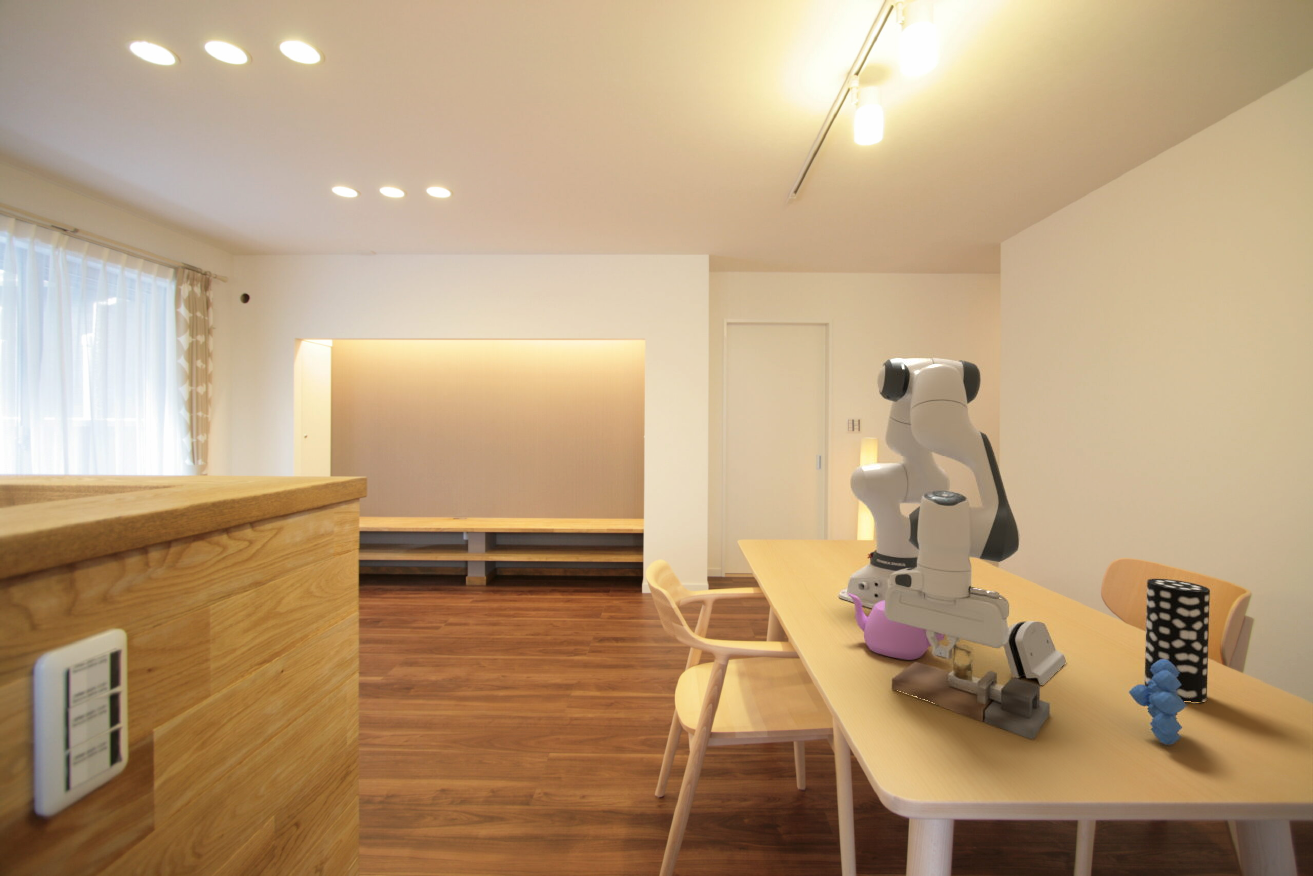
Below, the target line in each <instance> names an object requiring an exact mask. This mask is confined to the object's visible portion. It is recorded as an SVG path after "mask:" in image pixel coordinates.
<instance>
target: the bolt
mask: <svg viewBox="0 0 1313 876" xmlns="http://www.w3.org/2000/svg"><path fill="white" fill-rule="evenodd" d="M973 658H974V650H973V647H970V646H967V645H964V644H956V645H955V646H954V648H953V663H952V664H953V667H952V668H953V669H952V671H949V672H950V673H949V674H948V685H949V686H952V687H955V688H958V689H961V690H964V691H967V692H970V693H973V694H976V695H977V689H978V681H979V680H980V679H981V678H979V677H976V676H973V674H974V673H973V671H974V670H973V666H974V664H973V663H974V659H973ZM1004 686H1005V685H1003V684H998V683H997V684H996V683H993V682H992V683H991V684H990V685H989V686H988V699H991V700H995V701H998V702H1001V689H1002V688H1003V687H1004Z"/></svg>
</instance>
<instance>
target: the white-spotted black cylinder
mask: <svg viewBox="0 0 1313 876" xmlns="http://www.w3.org/2000/svg"><path fill="white" fill-rule="evenodd" d="M1210 591H1211V590H1210V587H1209V588H1208V587H1206V586H1204V585H1201V584H1197V583H1192V582H1188V581H1183V580H1176V579H1167V578H1149V579H1147V580H1146V616H1145V617H1146V618H1145V620H1146V622H1145V652H1144V653H1145V655H1144V659H1145V660H1144V665H1145V666H1144V685H1145V686H1147V687H1148V686H1149V685H1148V684H1147V683H1148V681H1149V680H1151V679H1152V677H1153V676H1154V675H1153V673H1152V672H1151V671H1150V669H1151V666H1152V665H1153V664H1154V663H1155V662H1157V661H1158V660H1160V659H1167V660H1168V661H1170V662H1171V663H1172V664H1173V665H1174V666H1175V667H1176V668H1177V670H1178V671H1179V672H1180V673H1179V674H1178V677H1176V678H1177V679H1178V681H1179V682H1180V683H1181V684H1182V685H1181V686H1180V687H1179V688H1177V689H1176V690H1177V692H1176V693H1177V695H1178V696H1179V697H1180V698H1181V699H1182V700H1183V701H1191V702H1203V701H1206V700H1207V699H1208V672H1209V671H1208V669H1209V637H1210V636H1209V633H1210V630H1209V629H1210V598H1211V597H1210V595H1211V592H1210ZM1207 701H1208V700H1207ZM1207 701H1206V702H1207Z"/></svg>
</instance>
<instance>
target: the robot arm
mask: <svg viewBox="0 0 1313 876" xmlns="http://www.w3.org/2000/svg"><path fill="white" fill-rule="evenodd" d="M981 379H982V378H981V371H980V369H979V367H978V366H977V365H976V364H975V363H973V362H970V361H966V360H954V359H949V358H948V359H947V358H940V357H930V358H929V357H925V358H924V357H922V358H921V357H917V358H916V357H913V358H912V357H911V358H903V357H894V358H888V359H887V360H886V361H885V362H883V364H882V366H881V367H880V370H879V372H878V374H877V382H876V383H877V387H878V391H879V394H880V396H881V397H882V398H883V399H885V400H888V401H891V402H892V403H891V405H890V411H889V416H888V422H887V426H886V432H885V437H884V438H885V443H886V445H887V447H888V448H889V450H891V451H892V452H894V453H896V454H897V455H900V456H901V457H902V460H901V462H893V463H890V462H888V463H887V462H886V463H885V462H876V463H875V462H874V463H868V464H863V465H859V466H857V467H856V468H854V470H853V472H852V473H851V477H850V488H851V491H852V494H853V495H854V496H855V498H857V500H859V501H861V503H863V504H864V505H865V507H866V508H867V509H868V510H869V512H870V513H871V515H872V517H873V520H874V524H875V533H876V539H875V540H876V549H874V551H871V552H870V553H869V554H867V558H866V559H869V563H868V564H866V565H865V566H863V567H860V568H859V569H858V570H857V571H854V572H853V573H852V574H851V575H850V577H849V578H848V582H847V587H846V588H844V589H842V590H840V591H839V594H838V598H839V599H842V600H845V601H848V602H852V603H854V601H853V600H852V598H851V597H850V596H849V595H848V594H847V593H851V594H853V595H856V596H857V597H858V598H859V599H860V601H861V603H862V607H866V608H869V609H871V610H872V609H873V607H874V606H875V604H877V603H878V602H880V601H885V615H886V617H887V618H888V619H889V620H891V621H895V622H898V623H902V624H906V625H910V626H914V627H917V628H921V629H925V630H926V636H927V638H928V640H929V642H930V644H931V646H932V651H931V654H932V656H935V657H938V658H941V659H945V660H951V659H952V657H953V650H954V646H955V645H958V643H959V642H960V640H963V641H967V642H970V643H974V644H978V645H982V646H987V647H990V648H994V649H1001V648H1002V647H1004V645H1005V644H1006V643H1007V642H1008V628H1009V627H1008V620H1007V619H1008V617H1009V616H1010V603H1009V600H1008V599H1006V597H1005V596H1003V595H1002V594H1000V592H998V591H996V590H995V591H994V590H986V589H982V588H978V587H974V586H972V563H971V560H970V558H976V559H980V560H985V561H991V562H996V563H997V562H998V563H1001V562H1003V561H1005V560H1007V559H1009V558H1010V557H1012V556H1013V555H1014V554H1015V553H1017V552H1018V550H1019V545H1020V542H1021V541H1020V538H1021V537H1020V536H1021V535H1020V530H1019V526H1018V524H1017V521H1016V519H1015V516H1014V514H1013V510H1012V508H1011V505H1010V503H1009V500H1008V496H1007V492H1006V489H1005V485H1004V482H1003V479H1002V476H1001V471H1000V468H999V465H998V461H997V458H996V456H995V452H994V448H993V446H992V444H991V441H990V439H989V437H988V436H987V434H986V433H984V432H982V431H980V430H978V429H977V428H976V427H975V425H974V424H973V423H972V421H971V419H970V417H969V410H968V409H969V407H968V405H969V404H970V403H972V402H973V401H974V400H975V399H976V398H977V395H978V394H979V391H980V388H981V383H982V380H981ZM933 453H934V454H936V455H939V456H943V457H944V458H945V457H946V458H949V459H951V460H954V461H956V462H958V463H961V464H963V465H965V466H966V467H967V468H969V470H971V471H972V473H973V475H974V477H975V481H976V485H977V488H978V493H979V496H980V499H981V500H980V501H981V503H982V506H979V507H975V506H970V503H969V502H970V501H969V499H968V498H967V497H966V496H965V495H964V494H961V493H958V492H954V491H950V486H951V485H950V484H951V482H950V478H949V475H948V474H947V472H946V470H945V469H944V468H942V467H941V466H940V465H939V464H938V463H937V461H936V460H935V458H934V455H933ZM901 504H920V506H918V507H916V508H915V509H914V510H913V511H911V513H909V514H908V516H906V515H904V514H902V512H901V507H900V505H901ZM938 633H940V634H944V636H946V641H947V642H949V643H948V645H947V646H946V645H943V644H940V641H939V642H938V640H937V638H936V635H937V634H938Z"/></svg>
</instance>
